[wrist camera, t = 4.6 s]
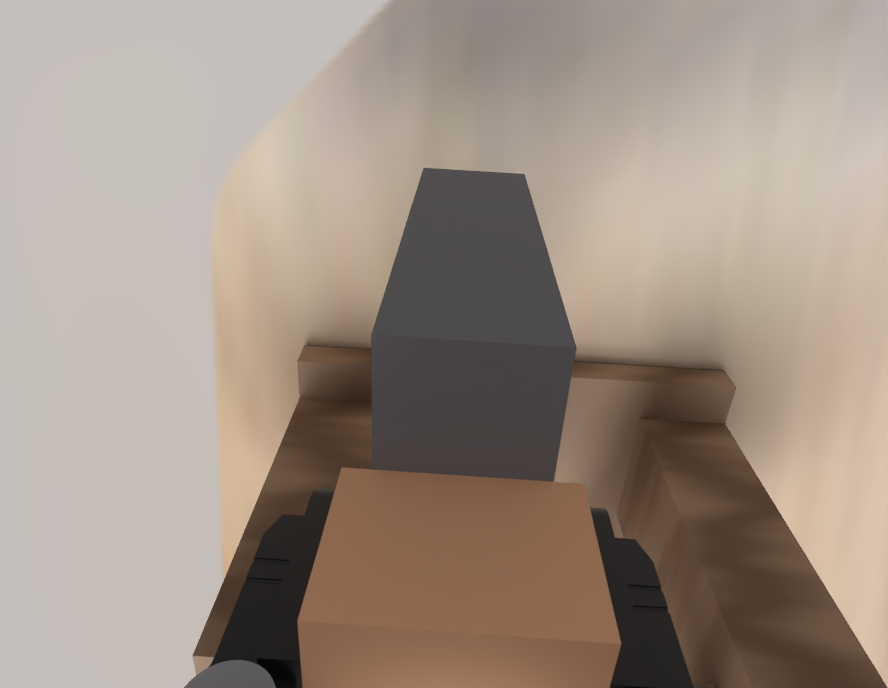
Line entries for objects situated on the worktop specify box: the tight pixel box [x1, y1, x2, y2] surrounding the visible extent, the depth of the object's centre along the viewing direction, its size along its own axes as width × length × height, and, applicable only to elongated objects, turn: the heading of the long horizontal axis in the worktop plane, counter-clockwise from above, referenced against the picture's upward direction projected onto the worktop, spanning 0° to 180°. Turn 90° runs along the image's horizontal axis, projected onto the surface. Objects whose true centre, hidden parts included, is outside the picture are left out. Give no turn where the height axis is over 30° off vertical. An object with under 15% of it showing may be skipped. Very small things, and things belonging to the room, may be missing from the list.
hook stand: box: [193, 346, 887, 688], centre depth 26 cm, size 20×10×15 cm, turn 87°
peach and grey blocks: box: [297, 168, 621, 688], centre depth 15 cm, size 4×9×14 cm, turn 177°
